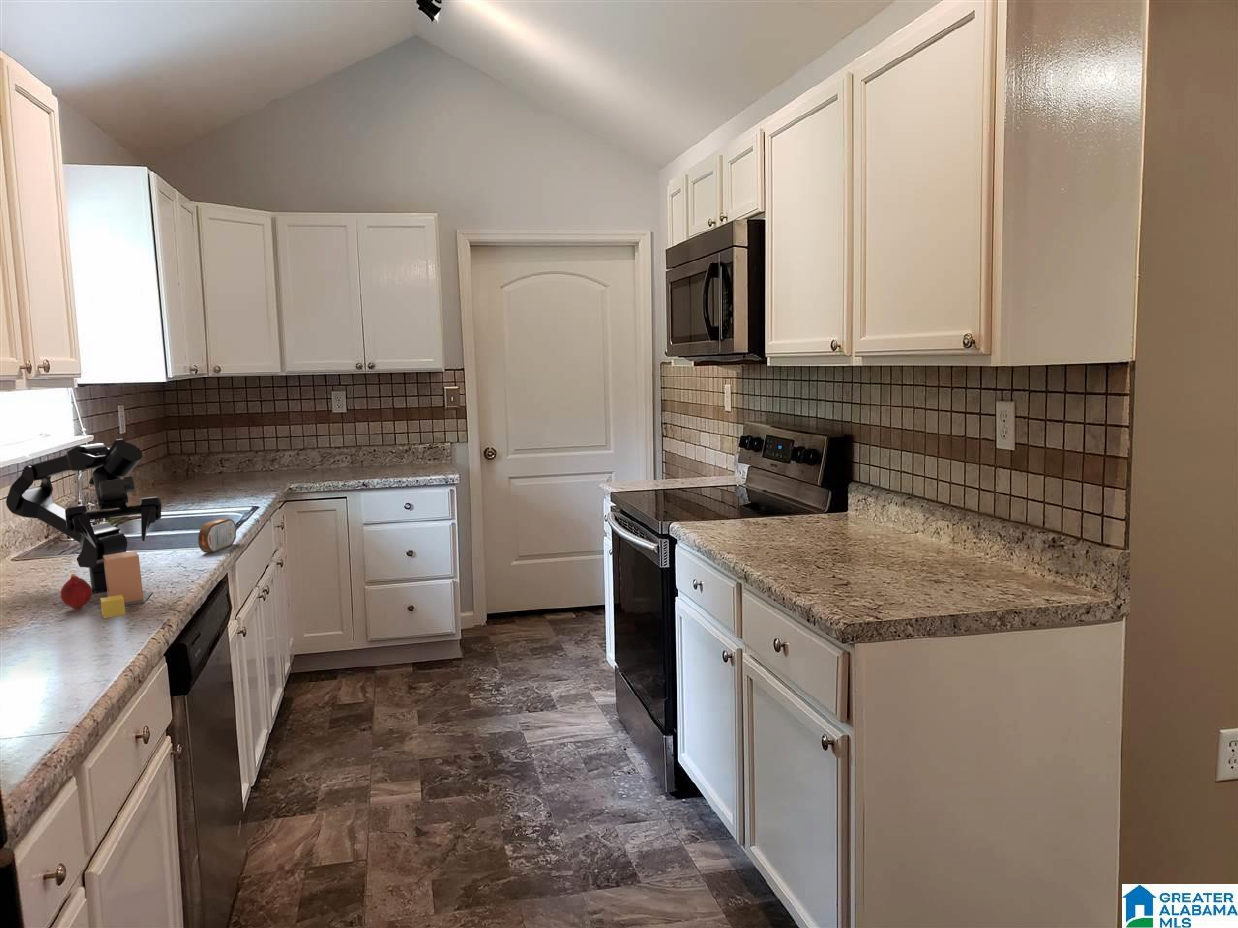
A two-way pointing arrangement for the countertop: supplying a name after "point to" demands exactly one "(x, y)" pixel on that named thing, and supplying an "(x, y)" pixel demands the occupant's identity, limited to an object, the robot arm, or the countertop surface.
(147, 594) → the mat
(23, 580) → the countertop surface
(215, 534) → the tin
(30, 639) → the countertop surface
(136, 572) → the tan rectangular block
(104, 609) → the block
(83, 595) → the onion
